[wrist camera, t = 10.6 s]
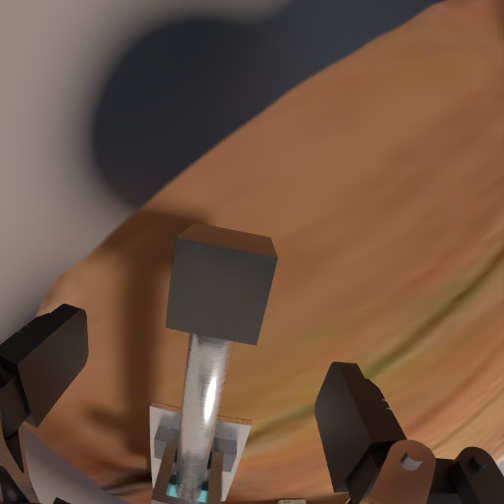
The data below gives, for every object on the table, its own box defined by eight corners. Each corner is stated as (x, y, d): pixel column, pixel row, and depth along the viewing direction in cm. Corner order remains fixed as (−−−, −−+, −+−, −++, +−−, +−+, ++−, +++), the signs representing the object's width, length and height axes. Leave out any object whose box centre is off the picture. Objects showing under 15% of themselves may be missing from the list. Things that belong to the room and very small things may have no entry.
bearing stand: (251, 420, 29) (252, 503, 18) (225, 497, 33) (221, 554, 23) (151, 401, 28) (122, 478, 17) (153, 484, 33) (139, 539, 22)
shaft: (194, 222, 19) (176, 237, 14) (270, 237, 19) (277, 257, 14) (168, 470, 25) (161, 504, 21) (213, 478, 26) (209, 513, 21)
